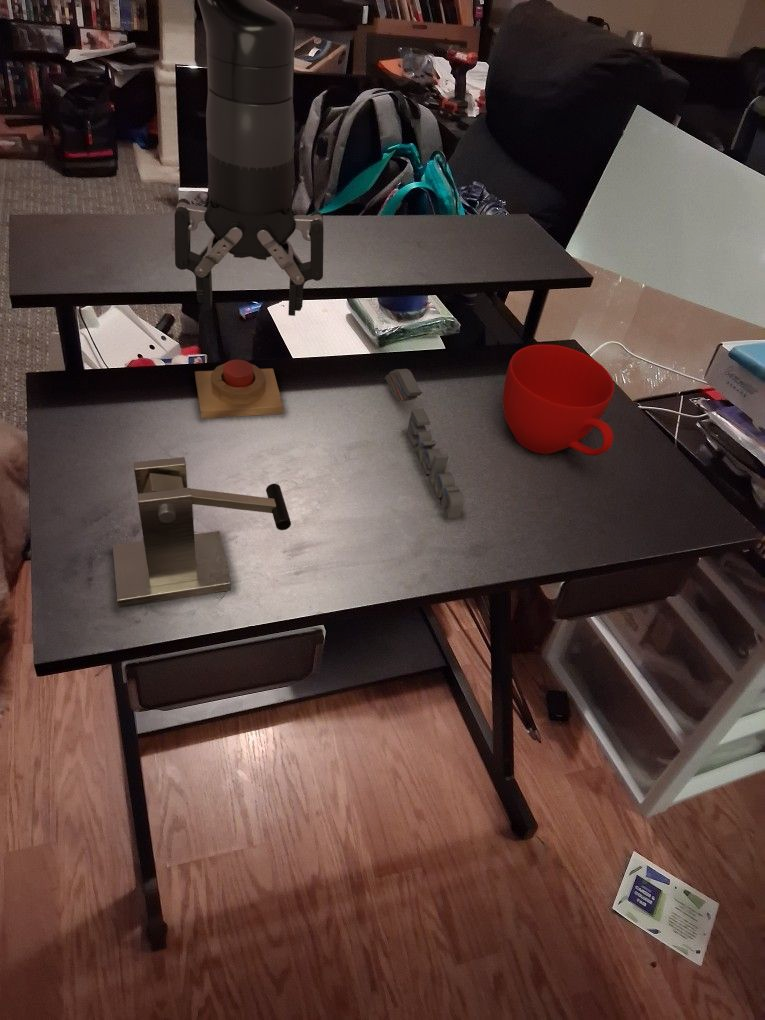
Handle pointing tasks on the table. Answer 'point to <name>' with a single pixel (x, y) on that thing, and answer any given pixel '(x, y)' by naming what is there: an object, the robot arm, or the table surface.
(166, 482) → the lever
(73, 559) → the table surface
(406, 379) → the block letters
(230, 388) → the switch block
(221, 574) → the bracket
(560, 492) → the table surface
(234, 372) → the button
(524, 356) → the ceramic cup
